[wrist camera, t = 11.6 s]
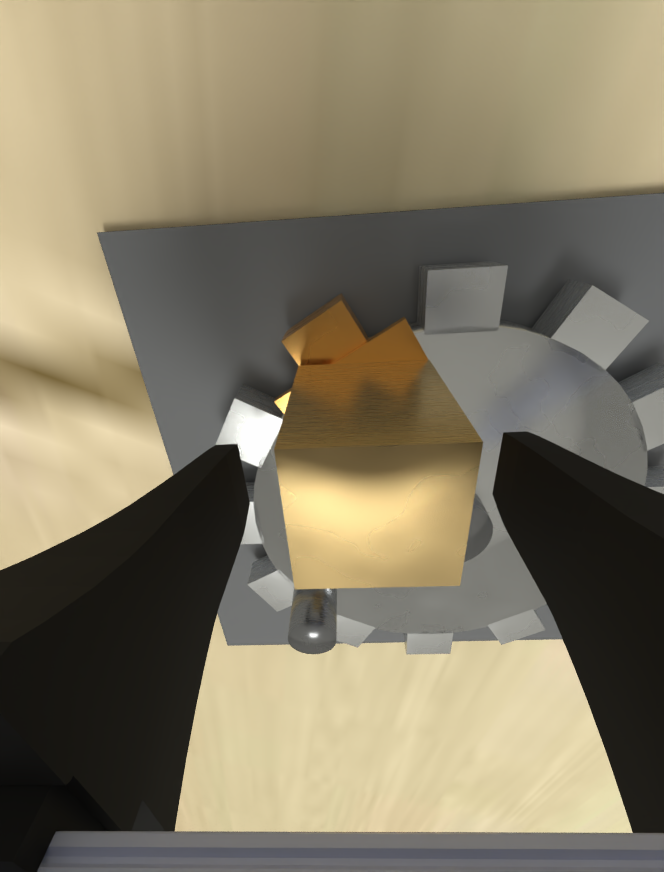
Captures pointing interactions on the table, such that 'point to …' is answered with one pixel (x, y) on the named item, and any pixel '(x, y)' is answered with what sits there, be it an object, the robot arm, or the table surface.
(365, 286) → the plate
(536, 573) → the robot arm
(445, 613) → the sprocket
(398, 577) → the brushed gold block
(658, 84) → the table surface
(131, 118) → the table surface
